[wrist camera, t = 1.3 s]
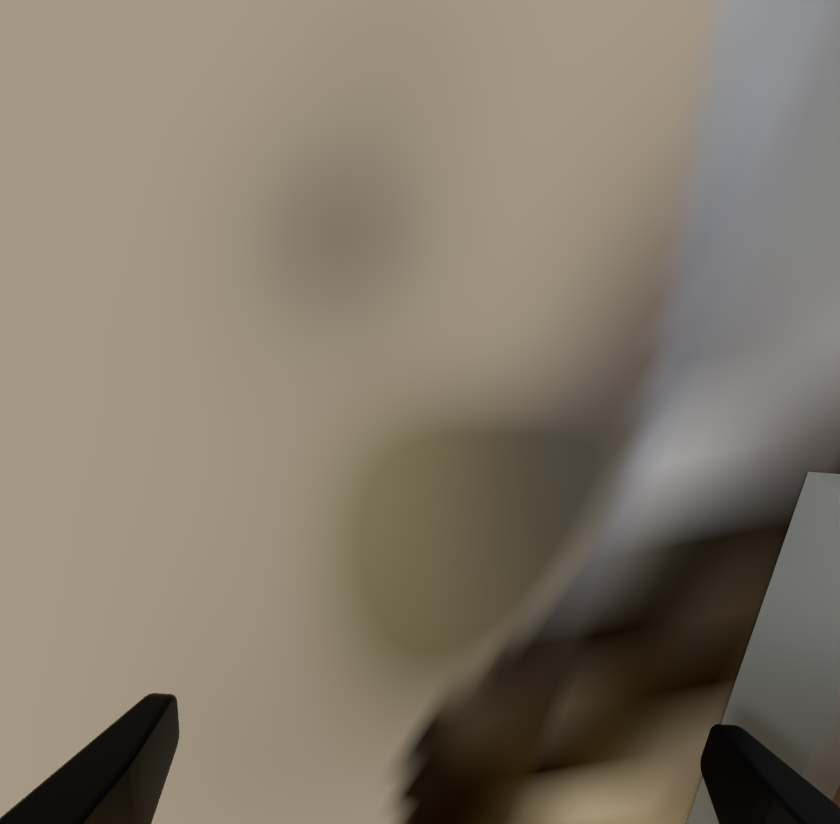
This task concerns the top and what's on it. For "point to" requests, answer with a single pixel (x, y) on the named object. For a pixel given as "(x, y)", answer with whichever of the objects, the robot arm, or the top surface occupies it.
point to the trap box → (796, 650)
